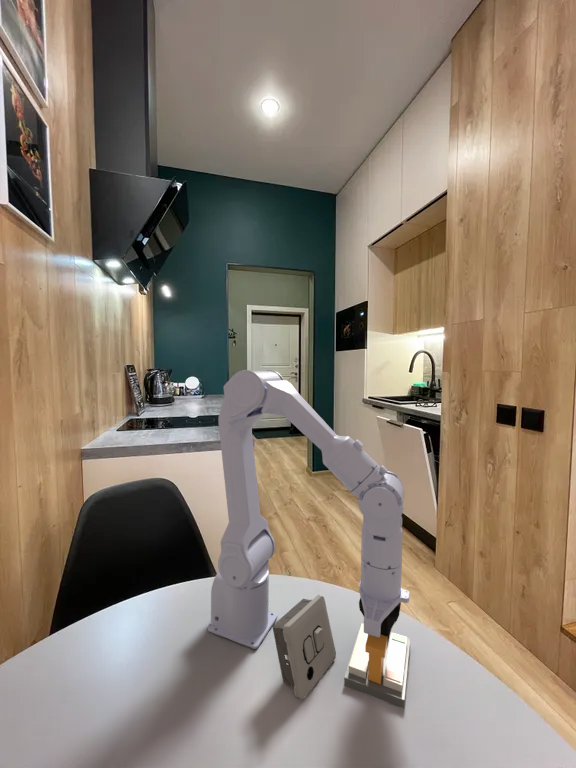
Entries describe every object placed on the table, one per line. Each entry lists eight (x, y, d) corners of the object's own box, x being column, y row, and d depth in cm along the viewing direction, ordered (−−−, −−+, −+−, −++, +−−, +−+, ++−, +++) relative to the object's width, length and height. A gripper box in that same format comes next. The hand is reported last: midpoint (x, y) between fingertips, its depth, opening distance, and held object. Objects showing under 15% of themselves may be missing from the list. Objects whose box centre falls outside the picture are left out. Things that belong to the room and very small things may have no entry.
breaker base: (344, 685, 48) (344, 669, 48) (360, 630, 58) (360, 617, 58) (404, 708, 45) (404, 692, 45) (410, 646, 55) (410, 632, 55)
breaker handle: (364, 679, 47) (365, 644, 47) (368, 663, 50) (369, 630, 50) (383, 686, 46) (384, 651, 46) (386, 670, 49) (387, 636, 49)
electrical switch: (301, 705, 45) (296, 634, 45) (271, 685, 48) (267, 619, 48) (337, 658, 52) (333, 597, 53) (309, 644, 56) (306, 587, 56)
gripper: (406, 596, 41) (402, 702, 42) (413, 541, 55) (410, 622, 55) (348, 580, 44) (346, 681, 45) (368, 532, 57) (367, 610, 58)
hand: (378, 648), depth 50 cm, fingers closed
